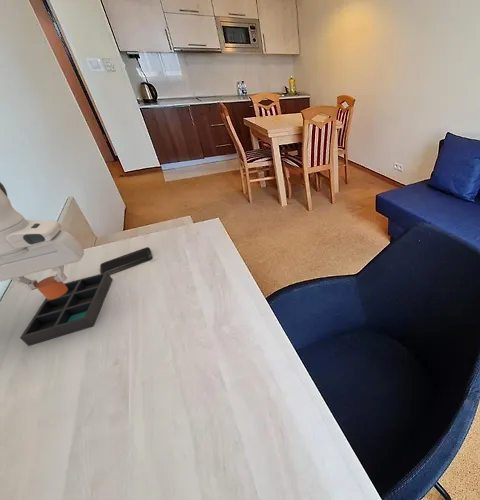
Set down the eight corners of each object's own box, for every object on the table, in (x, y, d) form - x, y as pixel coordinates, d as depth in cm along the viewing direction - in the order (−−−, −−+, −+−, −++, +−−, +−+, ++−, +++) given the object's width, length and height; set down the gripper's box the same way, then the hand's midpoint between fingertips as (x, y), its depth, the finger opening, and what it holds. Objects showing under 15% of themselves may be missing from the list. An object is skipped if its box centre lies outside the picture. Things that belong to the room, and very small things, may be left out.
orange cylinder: (43, 301, 74) (32, 289, 72) (50, 290, 77) (40, 279, 75) (64, 296, 75) (53, 284, 73) (70, 285, 79) (60, 273, 76)
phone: (151, 256, 103) (100, 274, 97) (152, 258, 104) (102, 277, 98) (148, 246, 109) (100, 263, 102) (150, 248, 110) (102, 265, 103)
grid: (28, 345, 76) (19, 338, 74) (60, 293, 93) (53, 286, 91) (93, 326, 80) (86, 318, 78) (112, 279, 96) (107, 271, 95)
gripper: (-63, 258, 61) (-10, 306, 69) (55, 231, 67) (92, 279, 75) (-43, 243, 66) (4, 289, 74) (65, 219, 71) (99, 265, 79)
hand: (49, 284), depth 74 cm, fingers closed on orange cylinder, 4 cm apart
